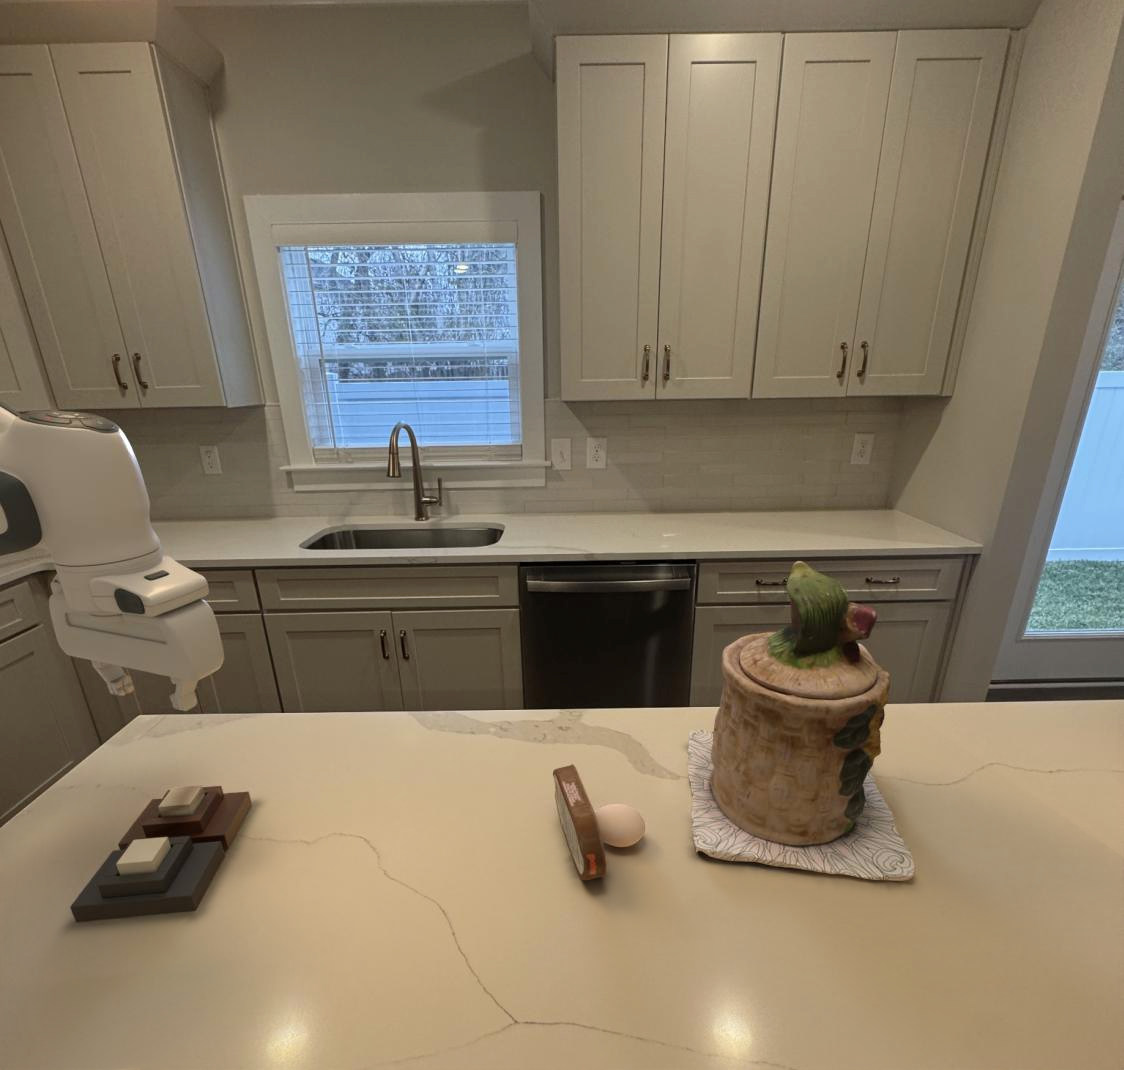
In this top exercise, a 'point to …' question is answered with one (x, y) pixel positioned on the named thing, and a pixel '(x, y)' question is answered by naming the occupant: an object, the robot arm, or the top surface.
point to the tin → (579, 823)
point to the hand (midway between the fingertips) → (153, 700)
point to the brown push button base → (194, 819)
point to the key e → (182, 801)
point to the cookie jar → (799, 745)
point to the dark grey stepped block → (151, 884)
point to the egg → (620, 825)
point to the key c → (144, 856)
